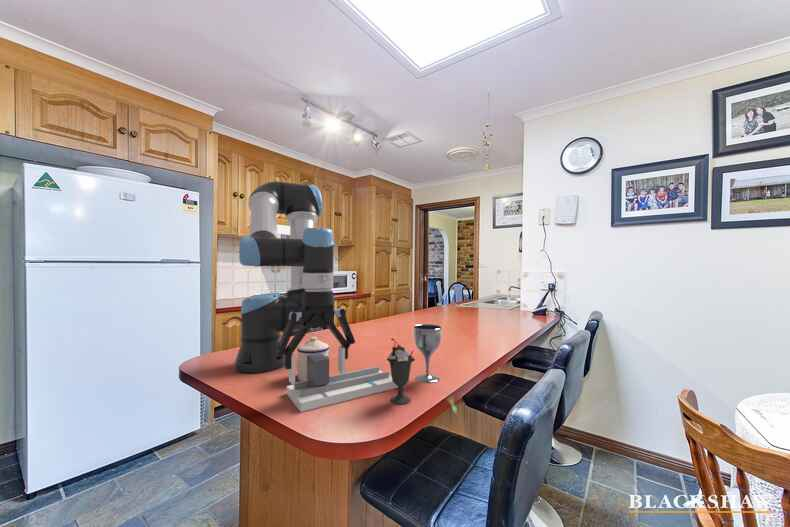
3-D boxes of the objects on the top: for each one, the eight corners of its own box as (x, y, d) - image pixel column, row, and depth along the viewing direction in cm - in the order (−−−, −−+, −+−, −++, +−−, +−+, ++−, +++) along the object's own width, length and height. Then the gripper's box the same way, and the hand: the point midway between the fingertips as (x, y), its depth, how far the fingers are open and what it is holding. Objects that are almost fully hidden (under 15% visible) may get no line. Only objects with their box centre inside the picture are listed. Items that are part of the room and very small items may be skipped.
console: (286, 393, 80) (286, 380, 80) (375, 374, 95) (375, 363, 95) (300, 412, 70) (300, 396, 70) (397, 387, 85) (397, 374, 85)
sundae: (381, 399, 77) (381, 337, 77) (402, 392, 81) (402, 334, 81) (397, 408, 72) (397, 342, 72) (419, 401, 76) (419, 338, 76)
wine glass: (437, 385, 86) (437, 330, 87) (410, 381, 89) (410, 328, 90) (444, 375, 94) (444, 325, 94) (418, 372, 97) (418, 323, 97)
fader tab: (306, 385, 80) (306, 355, 80) (320, 382, 82) (320, 352, 82) (314, 393, 75) (314, 360, 75) (329, 389, 77) (329, 358, 77)
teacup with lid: (315, 384, 87) (316, 342, 87) (290, 380, 90) (290, 339, 90) (340, 371, 98) (340, 333, 98) (316, 367, 101) (317, 331, 101)
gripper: (270, 293, 69) (269, 392, 69) (368, 289, 82) (367, 372, 82) (263, 291, 75) (262, 382, 75) (355, 287, 89) (355, 364, 89)
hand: (317, 377), depth 79 cm, fingers open, 12 cm apart
